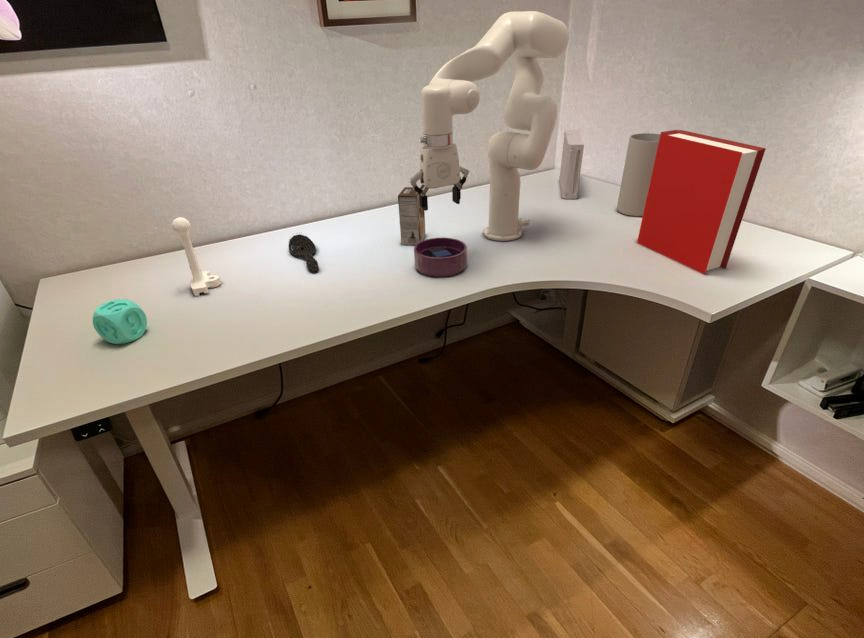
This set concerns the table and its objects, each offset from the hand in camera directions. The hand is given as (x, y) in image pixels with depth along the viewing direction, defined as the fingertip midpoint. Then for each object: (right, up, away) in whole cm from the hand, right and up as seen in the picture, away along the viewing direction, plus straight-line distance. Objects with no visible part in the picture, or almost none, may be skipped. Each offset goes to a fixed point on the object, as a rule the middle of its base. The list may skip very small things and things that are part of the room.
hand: (440, 205), depth 138 cm
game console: (+53, +28, +68) cm, 90 cm away
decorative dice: (-76, -37, -16) cm, 86 cm away
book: (+71, -11, +12) cm, 73 cm away
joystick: (-66, -22, +4) cm, 70 cm away
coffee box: (-8, -3, +28) cm, 29 cm away
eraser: (0, -14, +9) cm, 17 cm away
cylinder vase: (+71, +11, +43) cm, 84 cm away
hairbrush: (-41, -11, +18) cm, 47 cm away
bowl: (0, -15, +10) cm, 18 cm away
